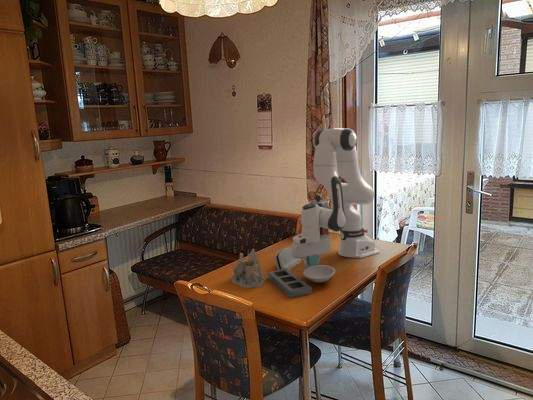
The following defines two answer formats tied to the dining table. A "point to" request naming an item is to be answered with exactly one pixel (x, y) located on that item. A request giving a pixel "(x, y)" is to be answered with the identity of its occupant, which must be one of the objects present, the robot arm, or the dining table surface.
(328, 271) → the dish
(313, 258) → the square peg
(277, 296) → the dining table surface
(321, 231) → the dark brown tall piece
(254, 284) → the ceramic cottage
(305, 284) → the grey slotted board
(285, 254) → the white arch segment
